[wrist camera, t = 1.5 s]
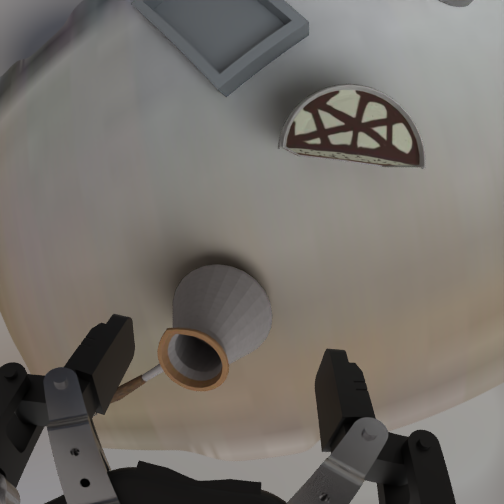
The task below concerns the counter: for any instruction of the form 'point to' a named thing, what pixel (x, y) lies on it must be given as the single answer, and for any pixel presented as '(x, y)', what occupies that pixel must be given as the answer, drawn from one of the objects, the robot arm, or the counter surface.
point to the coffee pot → (209, 328)
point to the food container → (353, 128)
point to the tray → (227, 34)
